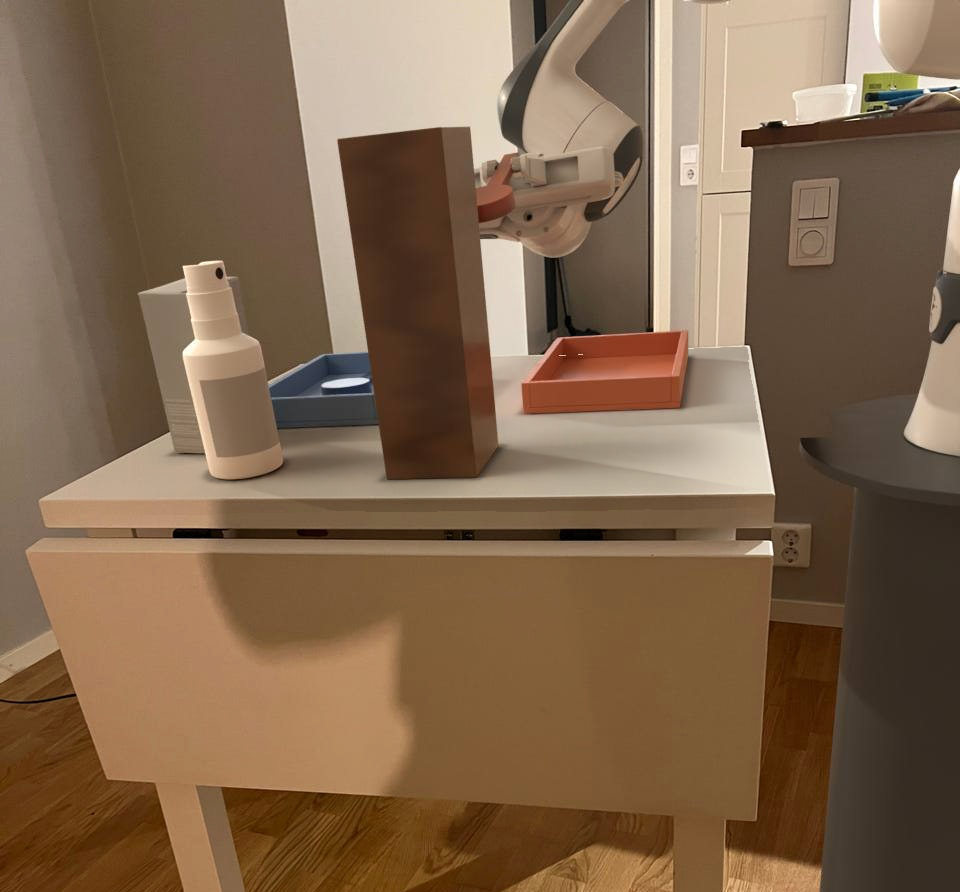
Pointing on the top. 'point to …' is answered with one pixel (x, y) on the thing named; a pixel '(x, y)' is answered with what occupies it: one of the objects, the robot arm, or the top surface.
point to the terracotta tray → (608, 373)
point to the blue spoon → (348, 386)
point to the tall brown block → (422, 298)
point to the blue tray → (306, 405)
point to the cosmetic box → (177, 355)
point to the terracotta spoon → (497, 193)
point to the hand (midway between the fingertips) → (503, 166)
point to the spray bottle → (228, 381)
